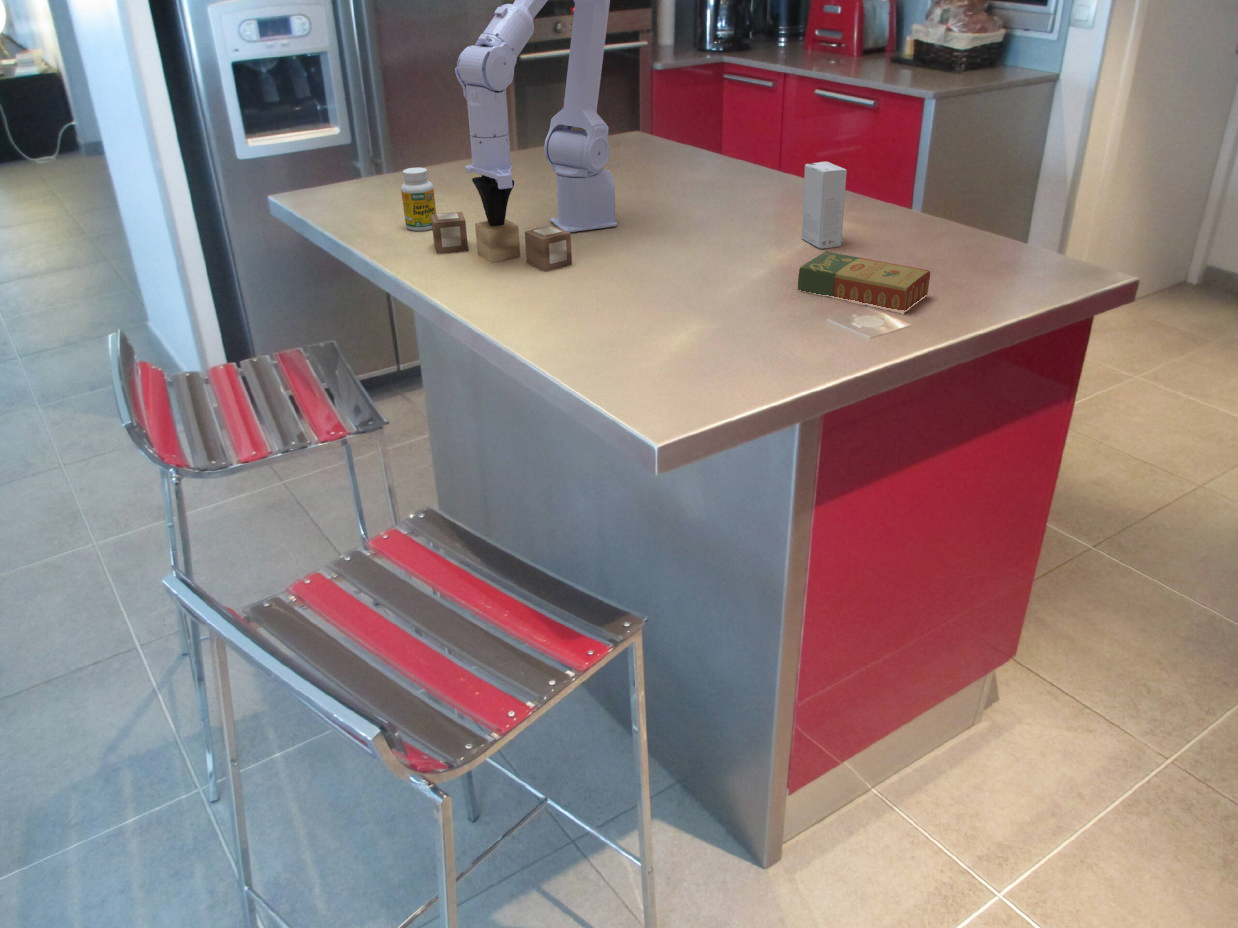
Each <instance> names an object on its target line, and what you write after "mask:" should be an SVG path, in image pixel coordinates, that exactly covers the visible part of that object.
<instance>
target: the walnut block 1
mask: <svg viewBox="0 0 1238 928" xmlns="http://www.w3.org/2000/svg"><path fill="white" fill-rule="evenodd" d="M431 221H432V229H431V230H432V236H433V237H432V238H433V245H434V250H435V252H436V254H447V253H460V252H469V245H468V244H469V243H468V235H467V226H466V225H467V224H466V223H467V222H466V218H465V216H464V213H463V211H455V212H442V213H441V212H440V213H436V214H431Z"/></svg>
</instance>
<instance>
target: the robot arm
mask: <svg viewBox="0 0 1238 928" xmlns="http://www.w3.org/2000/svg"><path fill="white" fill-rule="evenodd" d="M548 1H549V0H514V2H513V3H505V4H502V5H501V6H498V7H496V9H495V11H494V16H493V18H492V19H491V20H490V21H489V23H488V25H487V26H486V28H485V29H484V31H482V33H481V34H480V35H479V37H478V39H477V41H476V43H475V45H469V46H466V47H465V48H464V49H463V51H461V53H460V54H459V56H458V59H457V62H456V63H457V64H456V67H455V68H454V72H455V76H456V79H457V80H458V82H459V84H460V85H461V88H462V91H463V97H464V98H465V100H466V104H467V105H466V107H467V114H468V115H467V116H468V126H469V127H468V128H469V139H470V150H471V162H472V163H470V164H466V165H465V166H464V171H465V172H467V173H468V174H469V173H471V174H472V173H474V174H476V175H477V174H478V175H480V176H477V177H472V178H471V181H472V183H473V185H474V186H475V188H476V190H477V192H478V194H479V197H480V199H481V203H482V207H483V209H484V214H485V217H486V221H488V223H489V225H490V226H499V225H504V222H505V219H506V215H507V208H508V203H509V199H510V195H511V194H512V191H513V188H514V186H515V180H513V175H512V171H513V162H512V160H511V147H510V134H509V133H510V132H509V117H508V113H509V112H508V103H507V101H508V100H507V88H508V87H509V85H511V84H512V82H513V79H514V75H515V66H516V65H517V60H518V57H519V55H520V54H521V52H522V51H523V49H524V48H525V46H526V45H527V44H528V42H529V40H530V38H531V37H532V36H533V34H534V32H535V26H534V25H535V24H534V19H535V17H536V16H537V14H539V12H540V11H541V10H542V8H543V7H544V6H545V5H546V3H547V2H548ZM573 3H574V10H573V16H572V17H573V19H572V27H571V35H570V36H571V38H570V46H569V53H568V55H569V56H568V62H567V63H568V64H567V73H566V74H567V75H566V83H565V92H564V100H563V101H564V102H563V107H562V108H561V110H559V111H558V112H557V113H556V114H554V115H553V116H552V118H551V119H550V125H549V130H548V133H547V135H546V137H545V140H544V144H543V145H544V146H543V148H544V149H543V150H544V151H543V152H544V156H545V159H546V161H547V162H548V164H549V165H551V168H552V169H551V170H552V172H555V183H556V184H555V185H556V201H557V203H556V206H557V216H556V217H550V222H551V223H552V224H553V225H554V226H555V227H558V228H560V229H562V230H565V231H567V232H570V233H575V232H582V231H583V232H584V231H589V230H598V229H604V228H605V229H606V228H613V227H617V226H618V223H617V221H616V188H615V187H616V185H615V181H614V177H613V174H612V172H611V171H610V170H609V169H608V168H605V167H606V165H607V163H608V161H609V158H610V144H609V129H610V128H609V126H608V125H607V123H606V122H605V120H603V118H601V116H600V115H599V114H598V112H597V110H598V104H599V102H598V101H599V95H600V94H599V93H600V88H601V87H600V86H601V79H602V78H601V77H602V69H603V61H604V55H605V54H604V53H605V45H606V36H607V28H608V19H609V11H610V5H611V4H610V3H611V0H573ZM574 128H581V129H583V130H585V131H583V130H575V129H574Z"/></svg>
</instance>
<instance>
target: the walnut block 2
mask: <svg viewBox="0 0 1238 928" xmlns="http://www.w3.org/2000/svg"><path fill="white" fill-rule="evenodd" d="M571 233H572V232H567V231H565V230H562V229H560V228H558V227H557V226H556V225H554V224H553V225H552V224H551V225H548V226H544V227H538V228H535V229H534V228H533V229H530V230H525V231H524V242H525V255H526V256H525V257H526V264H528V265H530V266H532V267H534V268H537V269H538V270H541V271H542V272H548V271H552V270H556V269H559V268H563V267H564V268H565V267H568V266H572V264H573V260H572V259H573V258H572V257H573V255H572V235H571Z"/></svg>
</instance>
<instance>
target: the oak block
mask: <svg viewBox="0 0 1238 928" xmlns="http://www.w3.org/2000/svg"><path fill="white" fill-rule="evenodd" d="M474 227H475V239H476V250H477V255H478V256H480V257H482V258H483V259H485V260H487V261H488V262H490V264H491V263H492V264H493V263H497V262H501V261H507V260H511V259H516V258H521V246H520V232H519V231H520V230H519V225H518V224H517V223H514V222H513V221H511V220H509V219H507V218H505V222H504V225H499V226H490V225H489V223H488V220H484V221H479V222H475V223H474Z"/></svg>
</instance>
